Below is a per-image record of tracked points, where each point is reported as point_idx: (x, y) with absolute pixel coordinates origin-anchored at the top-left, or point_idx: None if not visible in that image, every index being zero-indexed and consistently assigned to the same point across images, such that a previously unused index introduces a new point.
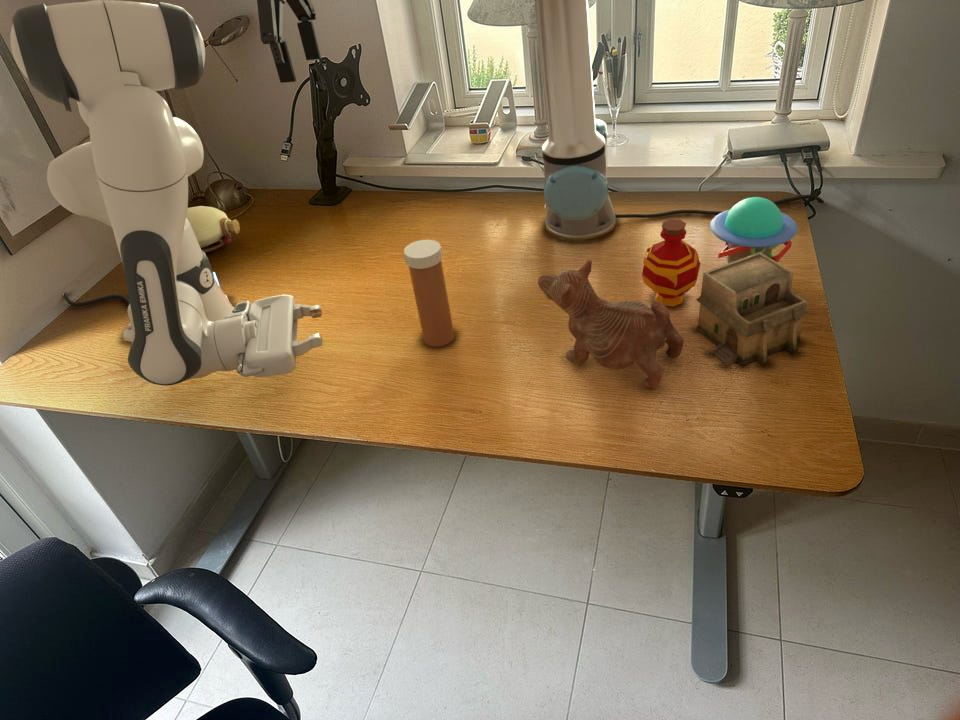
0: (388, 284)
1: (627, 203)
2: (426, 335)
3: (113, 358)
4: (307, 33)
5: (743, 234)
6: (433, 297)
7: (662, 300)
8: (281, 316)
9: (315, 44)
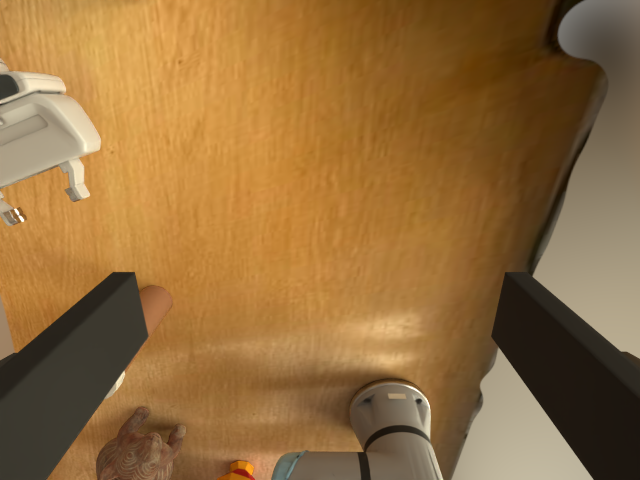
0: (260, 219)
1: (432, 446)
2: None
3: None
4: (586, 416)
5: None
6: None
7: (232, 468)
8: (24, 158)
9: (529, 387)
